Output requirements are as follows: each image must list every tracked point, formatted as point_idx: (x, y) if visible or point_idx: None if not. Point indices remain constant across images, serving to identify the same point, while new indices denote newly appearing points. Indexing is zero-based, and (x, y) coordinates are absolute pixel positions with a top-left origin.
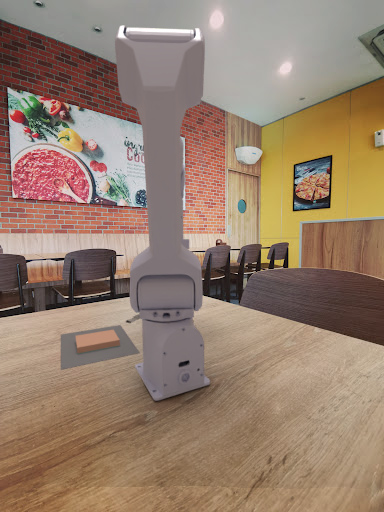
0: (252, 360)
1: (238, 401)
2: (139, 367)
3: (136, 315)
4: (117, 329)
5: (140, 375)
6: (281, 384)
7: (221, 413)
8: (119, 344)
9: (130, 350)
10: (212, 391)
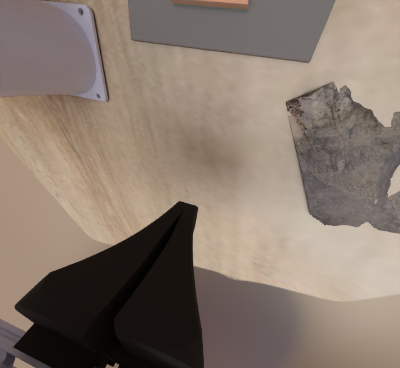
0: (87, 160)
1: None
2: (77, 10)
3: (343, 138)
4: (281, 38)
5: (58, 2)
6: (49, 144)
7: None
8: (173, 2)
9: (146, 23)
10: None
